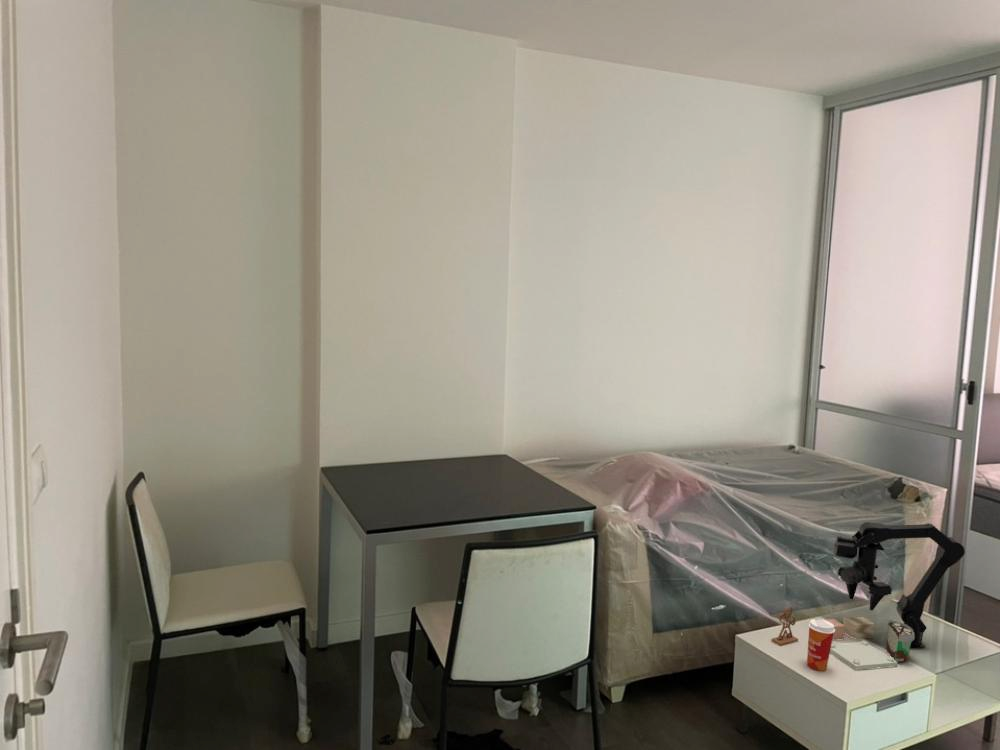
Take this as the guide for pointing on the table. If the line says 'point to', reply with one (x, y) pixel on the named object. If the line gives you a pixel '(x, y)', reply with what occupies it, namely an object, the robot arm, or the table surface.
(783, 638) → the brown figurine
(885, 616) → the table surface
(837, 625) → the terracotta brick
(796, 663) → the table surface
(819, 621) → the paper cup
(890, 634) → the food container
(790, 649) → the table surface
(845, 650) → the build plate
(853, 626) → the birch brick
